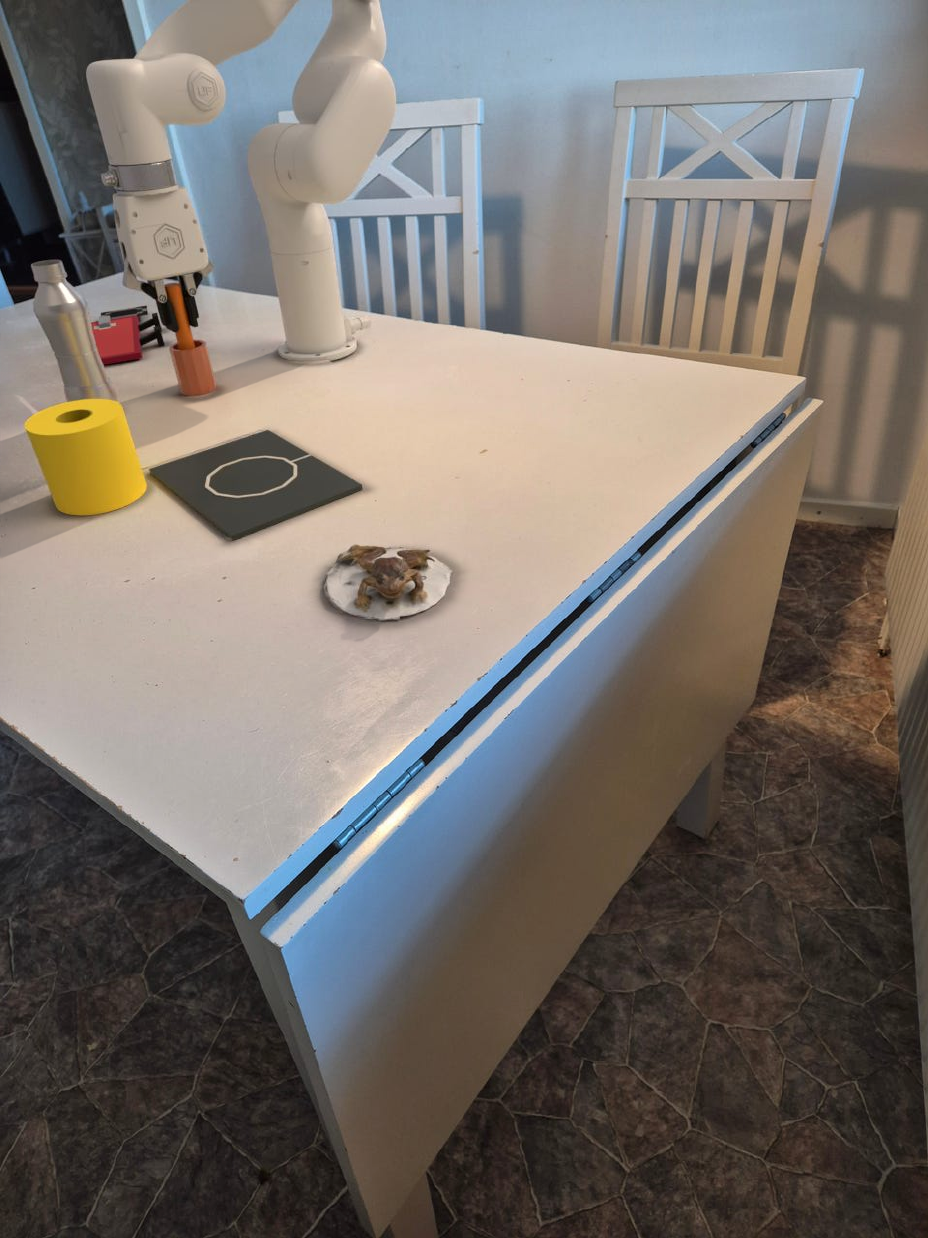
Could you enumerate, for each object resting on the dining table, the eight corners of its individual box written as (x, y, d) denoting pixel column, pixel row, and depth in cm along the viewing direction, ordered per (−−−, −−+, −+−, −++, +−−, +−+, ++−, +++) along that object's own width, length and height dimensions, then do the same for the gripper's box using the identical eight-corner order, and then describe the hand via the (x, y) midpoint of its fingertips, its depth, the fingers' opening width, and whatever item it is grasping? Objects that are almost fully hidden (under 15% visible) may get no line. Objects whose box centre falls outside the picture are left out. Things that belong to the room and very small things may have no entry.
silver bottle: (106, 424, 110) (54, 269, 98) (62, 423, 112) (6, 269, 100) (131, 406, 115) (85, 256, 103) (89, 405, 117) (38, 257, 105)
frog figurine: (466, 609, 71) (464, 572, 69) (329, 632, 69) (322, 595, 67) (441, 544, 80) (439, 510, 78) (320, 563, 78) (314, 528, 76)
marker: (198, 375, 118) (175, 281, 111) (205, 378, 117) (182, 284, 109) (184, 379, 117) (160, 284, 109) (190, 382, 116) (167, 287, 108)
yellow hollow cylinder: (156, 497, 92) (132, 418, 86) (64, 524, 88) (32, 443, 82) (134, 467, 99) (111, 391, 93) (48, 490, 95) (18, 413, 89)
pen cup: (208, 384, 121) (196, 337, 117) (223, 392, 118) (211, 344, 114) (176, 393, 119) (163, 345, 115) (190, 402, 115) (178, 353, 111)
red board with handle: (158, 308, 156) (76, 321, 153) (153, 293, 154) (71, 306, 151) (166, 356, 133) (70, 373, 130) (161, 339, 131) (64, 355, 128)
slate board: (268, 433, 105) (267, 428, 104) (362, 489, 91) (362, 483, 90) (150, 473, 97) (148, 468, 97) (232, 540, 83) (231, 535, 82)
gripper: (92, 190, 95) (136, 347, 106) (216, 172, 103) (246, 319, 114) (71, 184, 100) (116, 335, 111) (192, 167, 108) (223, 310, 119)
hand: (182, 326), depth 113 cm, fingers closed on marker, 2 cm apart
